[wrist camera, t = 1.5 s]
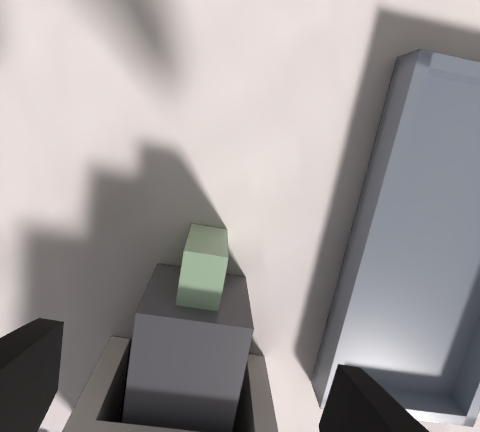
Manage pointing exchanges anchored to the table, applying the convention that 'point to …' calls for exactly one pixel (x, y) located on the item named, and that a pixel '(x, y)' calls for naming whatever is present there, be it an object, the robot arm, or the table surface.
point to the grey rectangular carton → (190, 341)
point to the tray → (416, 249)
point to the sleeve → (108, 427)
